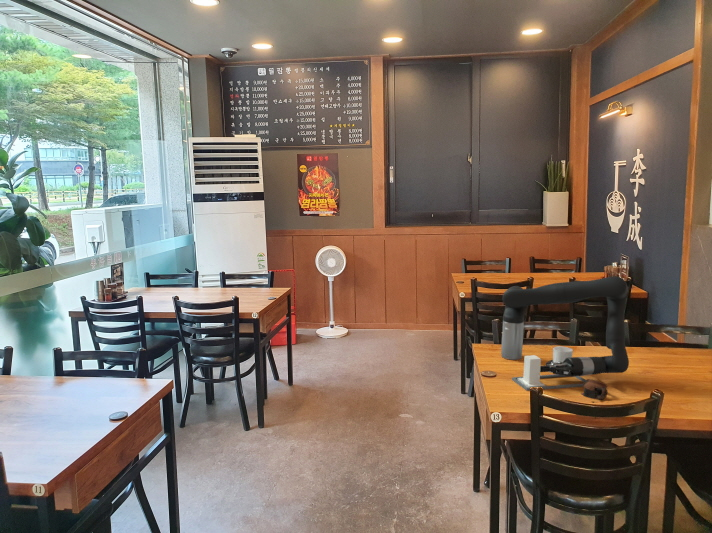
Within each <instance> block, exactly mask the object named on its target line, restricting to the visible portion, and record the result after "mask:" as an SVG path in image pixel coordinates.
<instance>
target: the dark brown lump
mask: <svg viewBox="0 0 712 533" xmlns="http://www.w3.org/2000/svg"><path fill="white" fill-rule="evenodd" d="M586 380H587V382H585V383H584V382H583V383H584V384H583V385H584V387H583V392H581V393H580V395H581V396H583V397H585V398H588V399H593V400H599V401H600V400H604V399H605V398H606V397H607V396H608V385H607V384H605V383H604V382H601V381H599V380H595V379H591V378H587V379H586ZM592 403H595V401H592Z"/></svg>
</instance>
